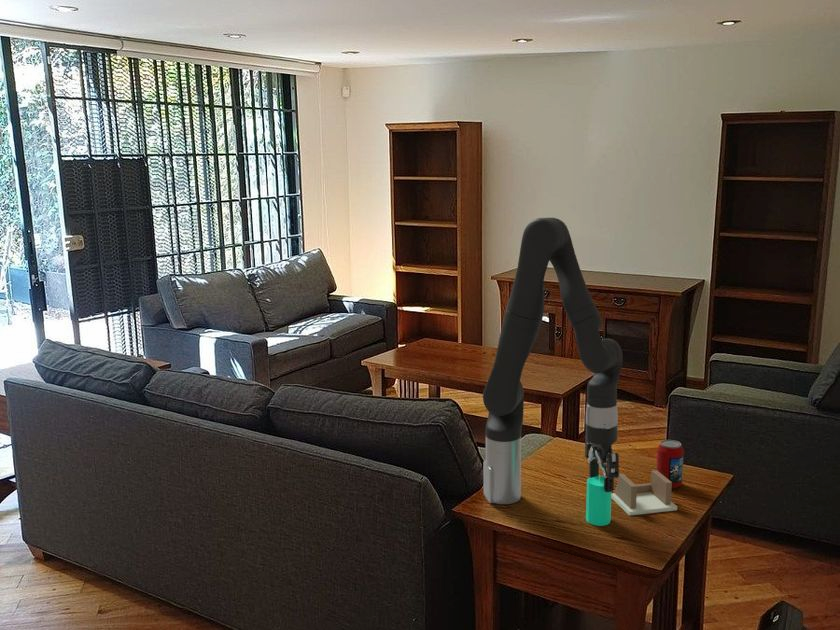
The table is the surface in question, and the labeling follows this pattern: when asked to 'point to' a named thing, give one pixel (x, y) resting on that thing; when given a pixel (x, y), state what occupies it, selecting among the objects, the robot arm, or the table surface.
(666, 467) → the beverage can
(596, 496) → the candle
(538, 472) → the table surface
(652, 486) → the holder
